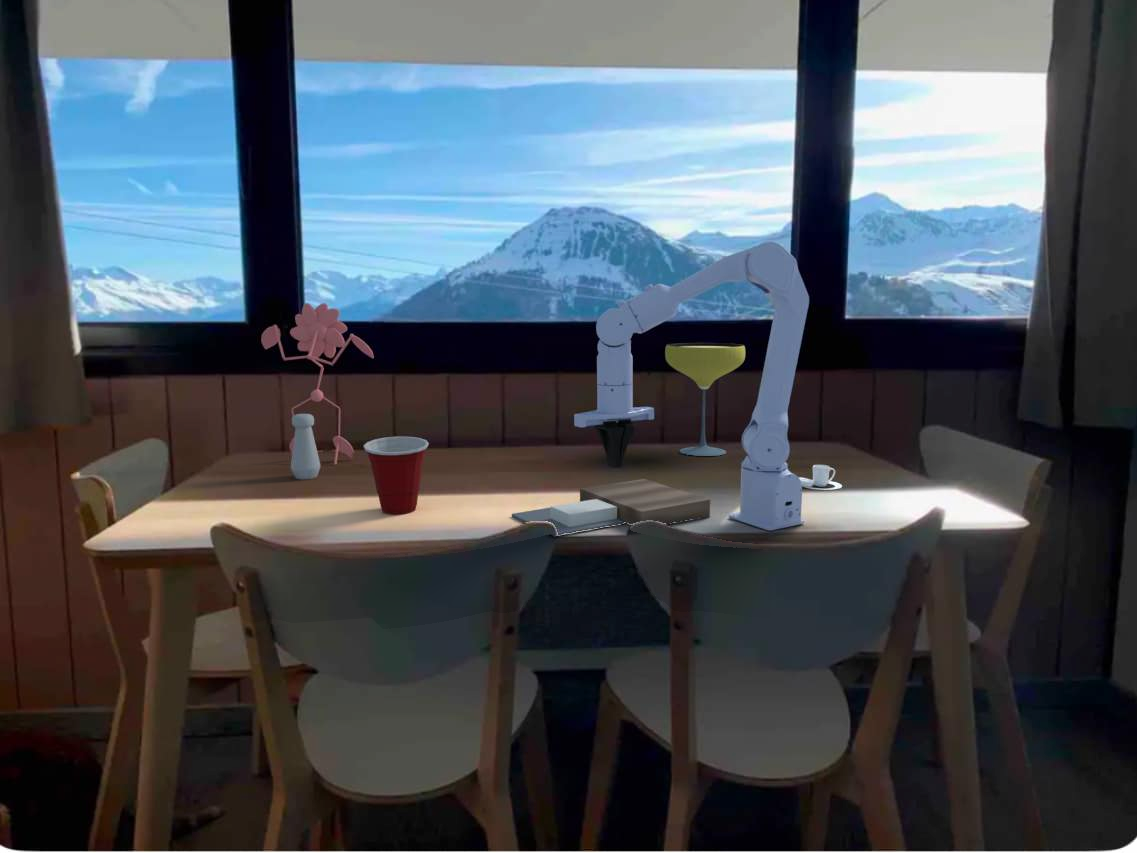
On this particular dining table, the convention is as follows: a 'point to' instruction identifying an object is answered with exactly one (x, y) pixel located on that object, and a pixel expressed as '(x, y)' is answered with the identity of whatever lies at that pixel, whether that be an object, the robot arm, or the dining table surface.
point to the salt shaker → (304, 448)
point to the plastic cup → (397, 471)
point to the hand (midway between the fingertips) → (615, 466)
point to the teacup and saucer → (820, 478)
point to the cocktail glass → (704, 374)
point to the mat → (561, 528)
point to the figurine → (318, 351)
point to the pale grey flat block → (583, 512)
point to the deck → (649, 501)
